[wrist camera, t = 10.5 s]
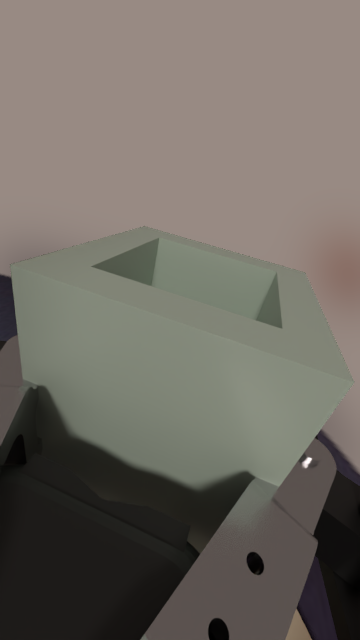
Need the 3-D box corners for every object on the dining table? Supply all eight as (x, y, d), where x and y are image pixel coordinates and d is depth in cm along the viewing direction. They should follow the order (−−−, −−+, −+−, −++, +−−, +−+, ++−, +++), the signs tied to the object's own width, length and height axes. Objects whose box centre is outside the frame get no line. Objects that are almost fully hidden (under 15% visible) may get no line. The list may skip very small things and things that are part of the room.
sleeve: (39, 524, 10) (10, 264, 5) (118, 408, 15) (144, 226, 10) (193, 605, 9) (355, 382, 4) (221, 450, 14) (305, 272, 9)
